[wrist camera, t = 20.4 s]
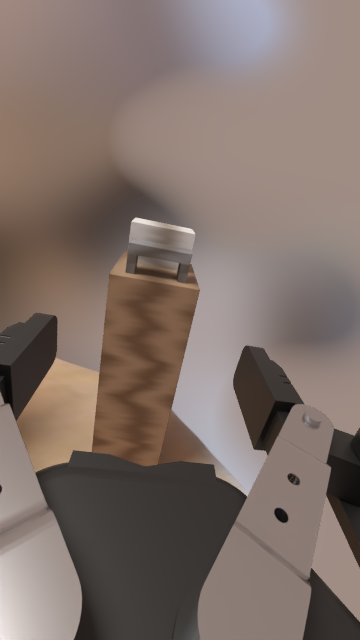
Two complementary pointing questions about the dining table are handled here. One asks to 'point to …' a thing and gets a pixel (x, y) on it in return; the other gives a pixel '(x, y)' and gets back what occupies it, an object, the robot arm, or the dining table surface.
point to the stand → (144, 340)
